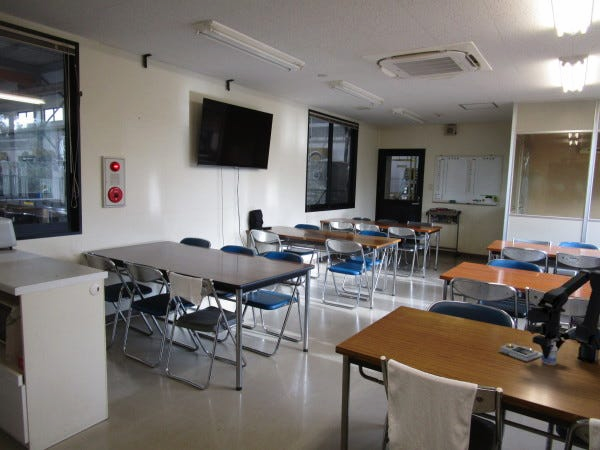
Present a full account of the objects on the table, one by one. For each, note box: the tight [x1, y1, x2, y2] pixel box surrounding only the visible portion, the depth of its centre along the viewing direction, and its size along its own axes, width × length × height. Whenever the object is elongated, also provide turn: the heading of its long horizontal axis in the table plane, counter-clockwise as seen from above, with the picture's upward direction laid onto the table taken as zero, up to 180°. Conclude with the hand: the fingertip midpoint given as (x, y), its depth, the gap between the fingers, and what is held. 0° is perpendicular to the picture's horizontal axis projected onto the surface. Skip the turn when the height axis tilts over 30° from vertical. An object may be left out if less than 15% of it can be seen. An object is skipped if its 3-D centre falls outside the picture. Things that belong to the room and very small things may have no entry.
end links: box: [499, 342, 542, 362], centre depth 190 cm, size 12×13×3 cm
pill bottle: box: [541, 340, 558, 366], centre depth 180 cm, size 6×5×10 cm
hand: (549, 357), depth 180 cm, fingers closed on pill bottle, 5 cm apart
